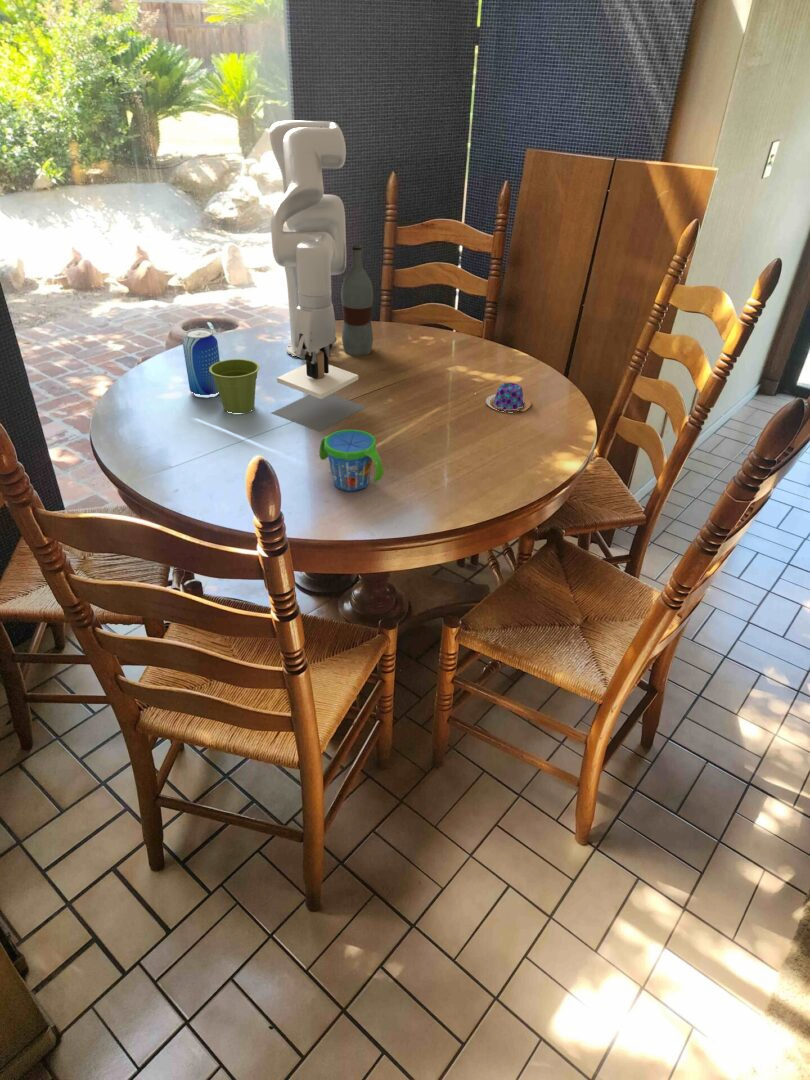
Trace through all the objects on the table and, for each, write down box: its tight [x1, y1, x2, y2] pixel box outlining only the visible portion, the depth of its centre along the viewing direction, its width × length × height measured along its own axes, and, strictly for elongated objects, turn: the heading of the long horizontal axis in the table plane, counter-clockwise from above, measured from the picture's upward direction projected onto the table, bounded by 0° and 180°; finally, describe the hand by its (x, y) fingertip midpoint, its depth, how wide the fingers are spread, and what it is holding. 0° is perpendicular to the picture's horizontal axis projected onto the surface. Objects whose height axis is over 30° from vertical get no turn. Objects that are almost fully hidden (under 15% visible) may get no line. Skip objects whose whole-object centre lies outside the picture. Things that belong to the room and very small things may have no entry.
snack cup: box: [318, 429, 384, 492], centre depth 146 cm, size 16×10×10 cm
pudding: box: [485, 382, 524, 414], centre depth 182 cm, size 12×12×5 cm
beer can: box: [182, 327, 221, 395], centre depth 179 cm, size 8×8×16 cm
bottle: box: [340, 244, 374, 357], centre depth 202 cm, size 9×9×30 cm
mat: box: [271, 393, 368, 432], centre depth 176 cm, size 18×16×1 cm
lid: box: [276, 350, 359, 399], centre depth 170 cm, size 14×14×7 cm
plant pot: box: [209, 358, 261, 414], centre depth 172 cm, size 12×12×11 cm
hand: (317, 373), depth 171 cm, fingers closed on lid, 3 cm apart
